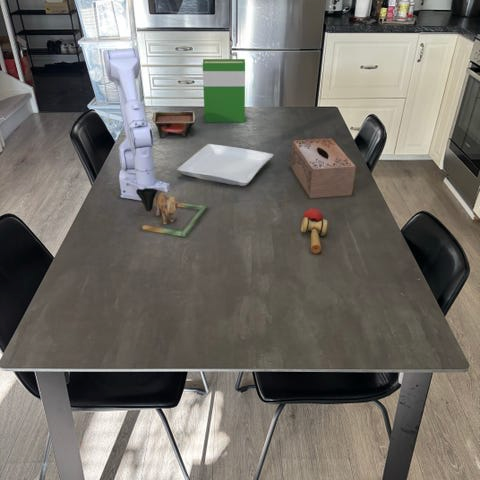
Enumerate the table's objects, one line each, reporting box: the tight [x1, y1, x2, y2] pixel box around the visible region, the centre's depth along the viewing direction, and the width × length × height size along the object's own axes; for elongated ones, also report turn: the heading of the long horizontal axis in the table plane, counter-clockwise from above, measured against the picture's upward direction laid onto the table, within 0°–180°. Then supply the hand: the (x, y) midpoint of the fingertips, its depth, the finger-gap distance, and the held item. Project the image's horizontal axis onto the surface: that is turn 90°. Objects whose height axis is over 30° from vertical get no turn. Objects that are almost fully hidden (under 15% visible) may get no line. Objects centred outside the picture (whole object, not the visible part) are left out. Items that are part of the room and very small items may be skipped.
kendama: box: [300, 208, 328, 254], centre depth 155 cm, size 8×6×18 cm
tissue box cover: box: [290, 137, 357, 199], centre depth 185 cm, size 26×14×10 cm, turn 10°
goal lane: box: [141, 201, 208, 238], centre depth 165 cm, size 14×18×1 cm
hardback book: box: [202, 58, 246, 123], centre depth 231 cm, size 18×7×24 cm, turn 91°
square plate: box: [176, 143, 274, 187], centre depth 193 cm, size 27×27×4 cm
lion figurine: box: [154, 192, 182, 225], centre depth 164 cm, size 15×5×9 cm, turn 33°
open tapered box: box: [151, 110, 197, 139], centre depth 222 cm, size 14×18×10 cm
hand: (149, 209), depth 166 cm, fingers closed
